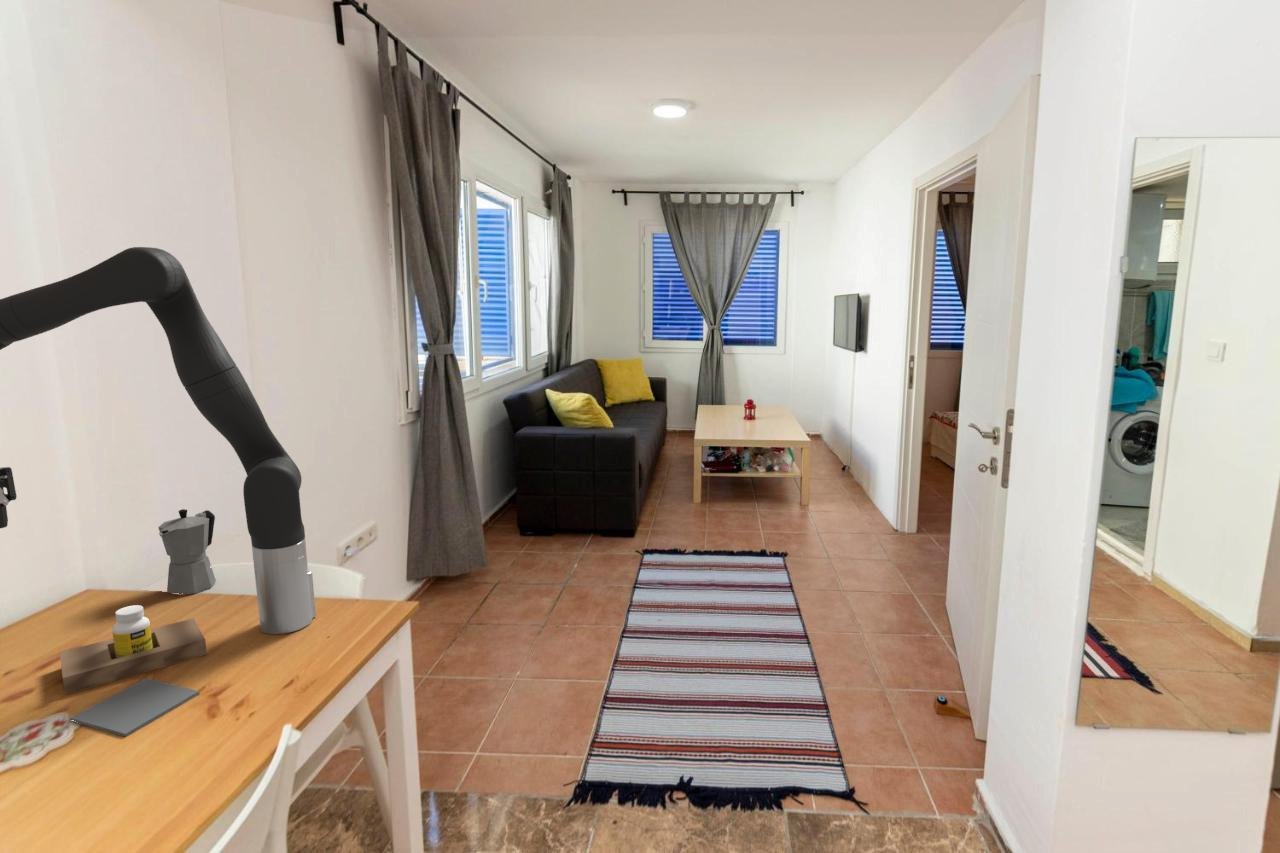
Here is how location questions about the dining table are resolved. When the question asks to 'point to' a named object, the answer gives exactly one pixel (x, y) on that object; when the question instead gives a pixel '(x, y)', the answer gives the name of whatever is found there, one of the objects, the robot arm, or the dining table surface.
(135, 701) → the slate pad
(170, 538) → the coffeepot
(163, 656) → the bottle holder tray
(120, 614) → the supplement bottle
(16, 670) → the dining table surface
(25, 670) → the dining table surface
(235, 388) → the robot arm
